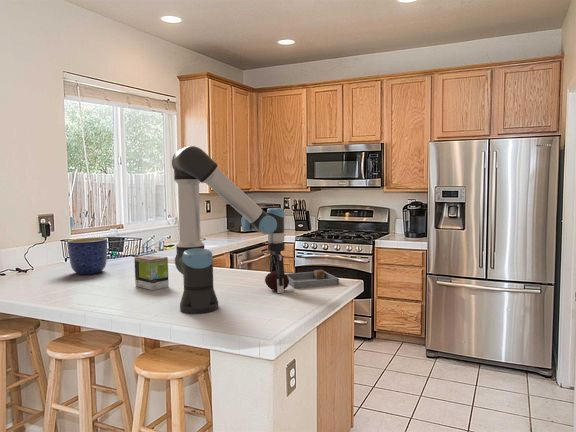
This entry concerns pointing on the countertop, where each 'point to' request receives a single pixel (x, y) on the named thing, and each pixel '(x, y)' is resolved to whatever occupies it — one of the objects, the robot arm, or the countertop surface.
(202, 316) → the countertop surface
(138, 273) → the tea box
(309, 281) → the tray
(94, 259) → the planter
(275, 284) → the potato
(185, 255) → the robot arm
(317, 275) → the walnut block
